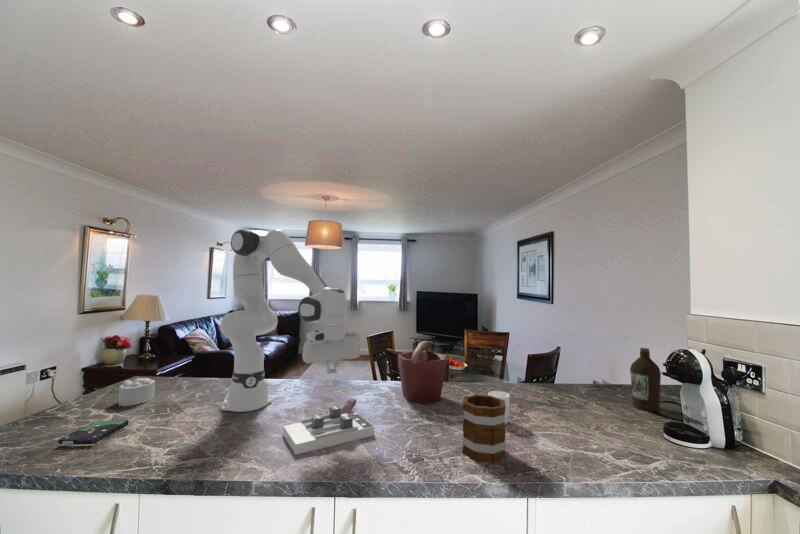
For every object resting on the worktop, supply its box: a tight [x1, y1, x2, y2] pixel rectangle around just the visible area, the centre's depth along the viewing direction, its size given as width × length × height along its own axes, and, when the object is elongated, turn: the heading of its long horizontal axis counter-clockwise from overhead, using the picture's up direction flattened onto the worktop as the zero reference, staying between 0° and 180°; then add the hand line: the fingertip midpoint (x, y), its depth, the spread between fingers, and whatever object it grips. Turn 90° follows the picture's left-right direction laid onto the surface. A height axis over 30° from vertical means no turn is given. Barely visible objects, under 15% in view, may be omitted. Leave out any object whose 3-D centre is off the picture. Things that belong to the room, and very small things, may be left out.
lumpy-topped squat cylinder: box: [118, 377, 156, 406], centre depth 141 cm, size 10×13×9 cm
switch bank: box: [282, 411, 375, 456], centre depth 113 cm, size 15×26×4 cm, turn 122°
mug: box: [462, 393, 506, 464], centre depth 107 cm, size 20×14×15 cm
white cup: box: [487, 390, 511, 425], centre depth 127 cm, size 8×8×10 cm
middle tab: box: [311, 414, 324, 429], centre depth 111 cm, size 3×3×4 cm
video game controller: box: [341, 397, 358, 414], centre depth 131 cm, size 10×5×7 cm, turn 169°
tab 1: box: [329, 405, 342, 419], centre depth 119 cm, size 3×3×4 cm
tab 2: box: [340, 415, 353, 430], centre depth 111 cm, size 3×3×4 cm
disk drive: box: [57, 419, 130, 444], centre depth 109 cm, size 10×3×15 cm
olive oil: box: [629, 347, 662, 412], centre depth 145 cm, size 11×11×25 cm
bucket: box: [397, 340, 448, 406], centre depth 152 cm, size 24×22×25 cm
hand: (331, 373), depth 119 cm, fingers closed
